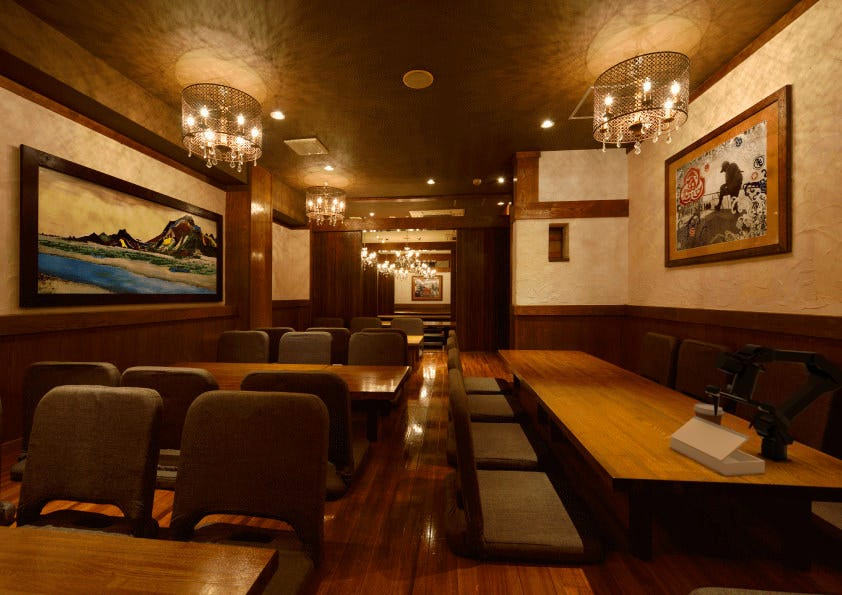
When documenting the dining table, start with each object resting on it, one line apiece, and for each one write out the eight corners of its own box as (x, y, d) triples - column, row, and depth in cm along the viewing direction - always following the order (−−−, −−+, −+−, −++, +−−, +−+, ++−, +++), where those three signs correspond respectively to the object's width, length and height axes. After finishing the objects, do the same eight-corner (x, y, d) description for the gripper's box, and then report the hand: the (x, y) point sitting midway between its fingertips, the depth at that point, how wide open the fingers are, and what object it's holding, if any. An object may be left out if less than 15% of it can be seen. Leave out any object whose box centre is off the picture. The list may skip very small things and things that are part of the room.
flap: (695, 417, 140) (694, 415, 140) (750, 438, 120) (749, 436, 120) (671, 437, 139) (670, 435, 139) (722, 461, 119) (721, 460, 119)
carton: (704, 446, 142) (704, 435, 142) (764, 473, 120) (765, 461, 120) (670, 447, 140) (670, 437, 140) (724, 476, 118) (724, 463, 118)
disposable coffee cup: (697, 439, 148) (698, 408, 148) (690, 431, 157) (690, 402, 157) (727, 443, 145) (728, 411, 145) (718, 434, 154) (718, 404, 154)
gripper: (779, 392, 131) (766, 436, 130) (713, 373, 144) (700, 413, 143) (782, 388, 123) (768, 435, 122) (711, 368, 136) (698, 410, 134)
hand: (731, 422), depth 130 cm, fingers open, 9 cm apart
